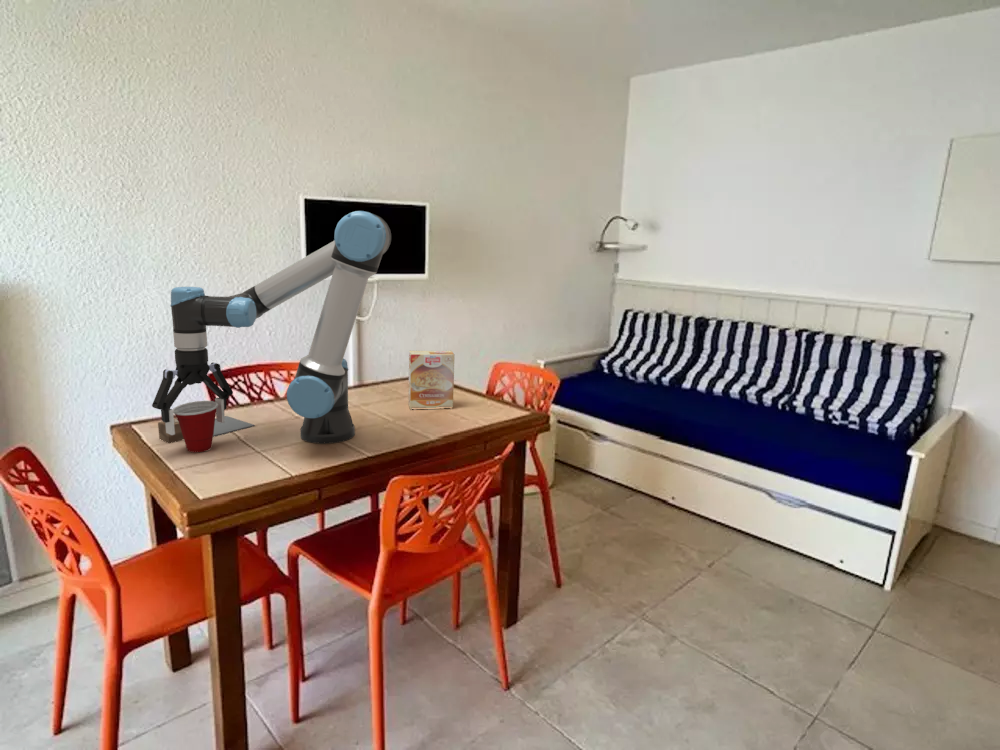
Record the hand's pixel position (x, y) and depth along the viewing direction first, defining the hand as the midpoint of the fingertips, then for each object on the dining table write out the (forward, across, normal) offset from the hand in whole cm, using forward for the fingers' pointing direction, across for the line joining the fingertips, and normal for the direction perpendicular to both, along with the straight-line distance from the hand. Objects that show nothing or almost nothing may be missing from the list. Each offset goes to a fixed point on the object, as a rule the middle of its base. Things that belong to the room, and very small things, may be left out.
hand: (196, 427), depth 155 cm
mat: (+6, -14, -13) cm, 20 cm away
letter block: (+6, 0, -12) cm, 14 cm away
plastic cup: (+6, 0, 0) cm, 6 cm away
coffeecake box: (+6, -72, +20) cm, 75 cm away
